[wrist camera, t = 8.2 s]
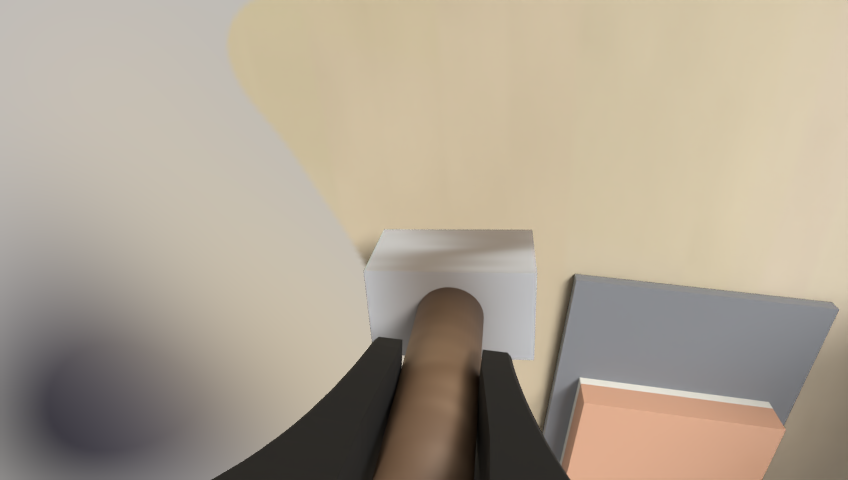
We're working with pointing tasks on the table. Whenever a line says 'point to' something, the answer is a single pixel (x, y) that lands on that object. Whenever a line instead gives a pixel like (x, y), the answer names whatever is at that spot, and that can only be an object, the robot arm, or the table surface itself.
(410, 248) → the trowel
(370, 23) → the table surface
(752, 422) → the tile
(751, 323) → the mat
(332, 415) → the robot arm
